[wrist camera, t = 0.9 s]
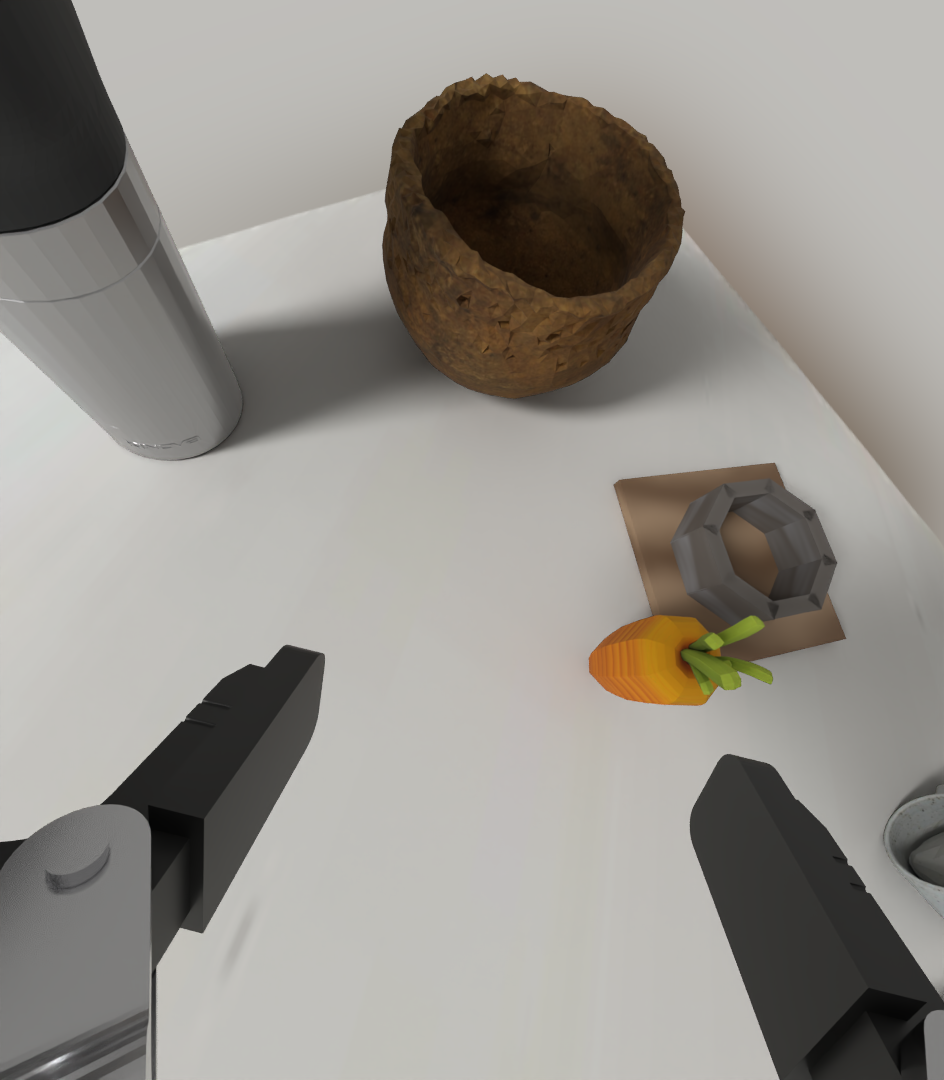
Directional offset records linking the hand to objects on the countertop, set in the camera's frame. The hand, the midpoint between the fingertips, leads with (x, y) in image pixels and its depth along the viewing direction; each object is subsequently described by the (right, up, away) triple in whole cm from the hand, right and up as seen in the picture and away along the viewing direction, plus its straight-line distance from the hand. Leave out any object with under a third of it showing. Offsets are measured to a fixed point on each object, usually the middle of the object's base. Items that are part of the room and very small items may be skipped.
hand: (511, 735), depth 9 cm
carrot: (+8, -6, +25) cm, 27 cm away
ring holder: (+20, +2, +30) cm, 36 cm away
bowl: (+1, +21, +32) cm, 38 cm away
